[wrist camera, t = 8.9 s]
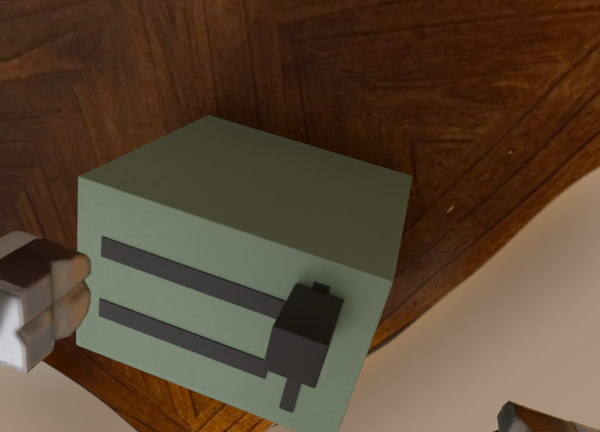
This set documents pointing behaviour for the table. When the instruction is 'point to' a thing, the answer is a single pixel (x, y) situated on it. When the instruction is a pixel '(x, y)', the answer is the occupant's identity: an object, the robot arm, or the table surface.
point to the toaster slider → (303, 335)
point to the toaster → (237, 262)
